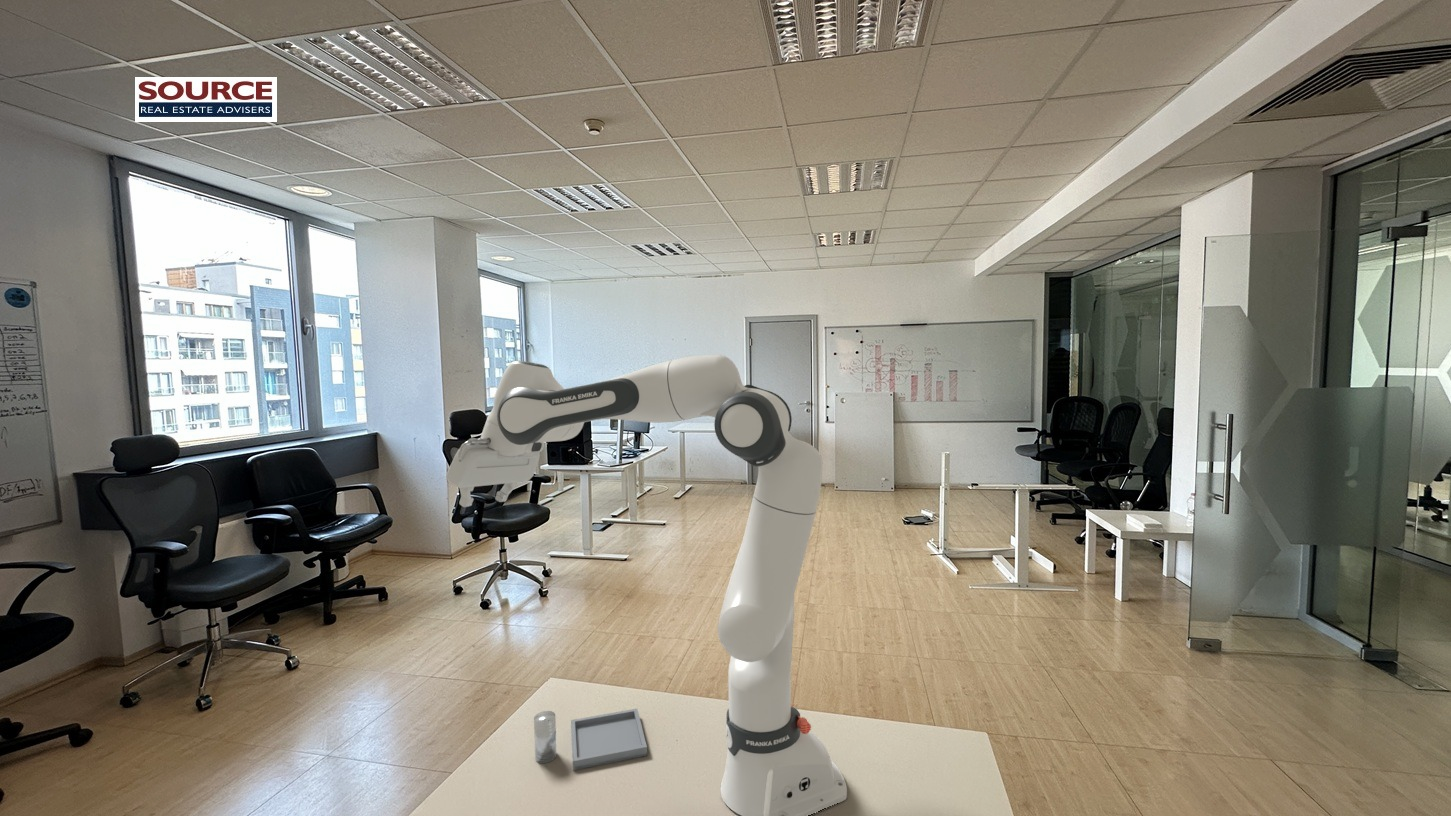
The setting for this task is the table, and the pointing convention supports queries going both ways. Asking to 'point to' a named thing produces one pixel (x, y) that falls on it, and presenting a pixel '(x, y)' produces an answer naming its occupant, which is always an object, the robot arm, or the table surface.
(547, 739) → the glossy grey cylinder
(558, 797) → the table surface
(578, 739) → the parts tray
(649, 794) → the table surface
